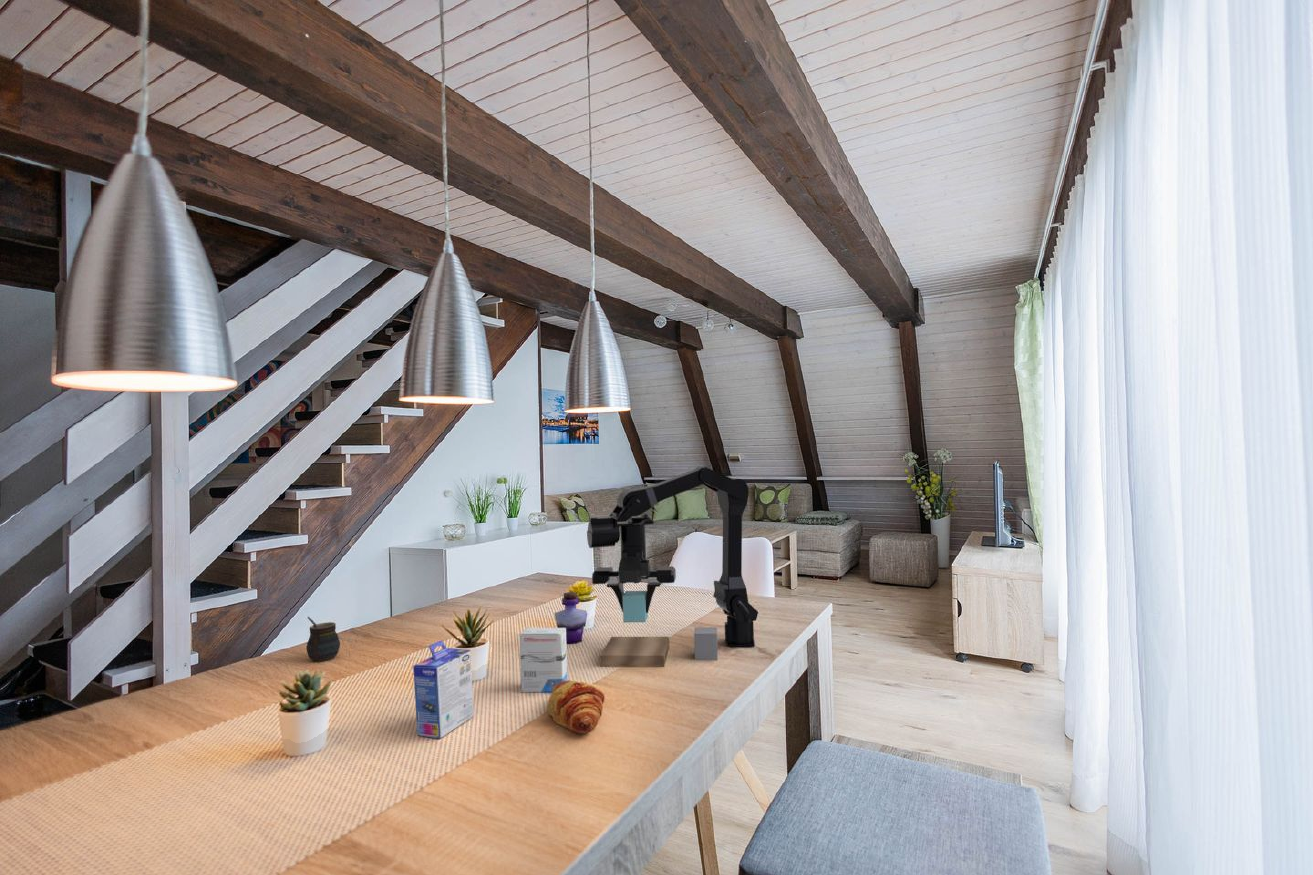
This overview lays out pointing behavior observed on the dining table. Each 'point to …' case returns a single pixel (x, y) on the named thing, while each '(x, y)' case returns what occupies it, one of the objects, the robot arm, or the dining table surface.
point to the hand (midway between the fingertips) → (635, 612)
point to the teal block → (634, 606)
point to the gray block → (705, 643)
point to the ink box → (542, 659)
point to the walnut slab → (635, 652)
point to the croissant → (576, 705)
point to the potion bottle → (571, 618)
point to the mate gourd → (323, 641)
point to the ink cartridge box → (443, 691)
